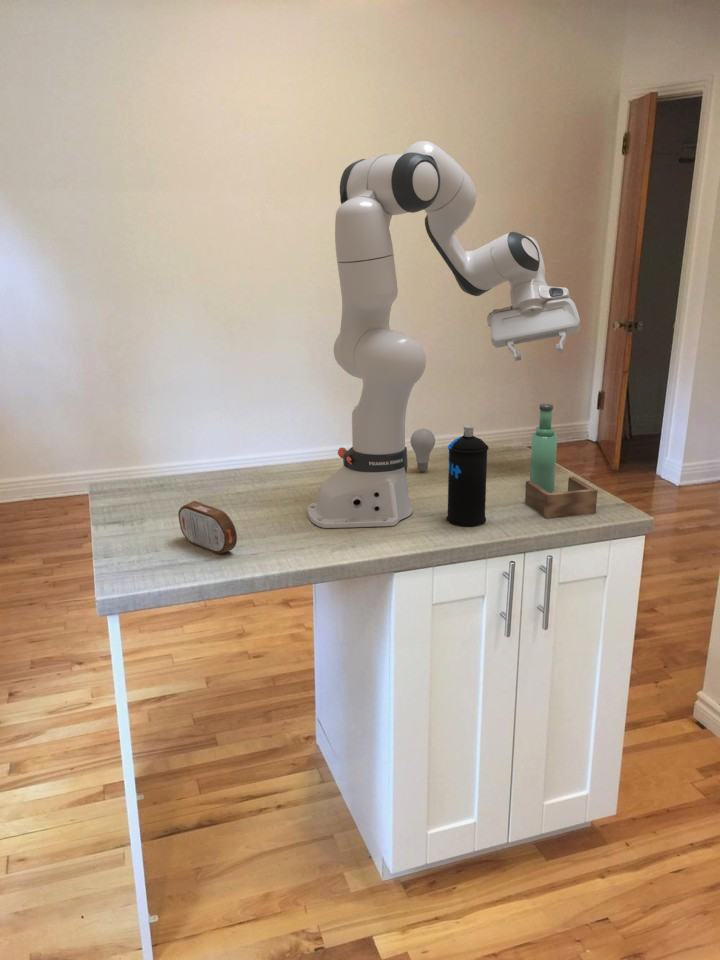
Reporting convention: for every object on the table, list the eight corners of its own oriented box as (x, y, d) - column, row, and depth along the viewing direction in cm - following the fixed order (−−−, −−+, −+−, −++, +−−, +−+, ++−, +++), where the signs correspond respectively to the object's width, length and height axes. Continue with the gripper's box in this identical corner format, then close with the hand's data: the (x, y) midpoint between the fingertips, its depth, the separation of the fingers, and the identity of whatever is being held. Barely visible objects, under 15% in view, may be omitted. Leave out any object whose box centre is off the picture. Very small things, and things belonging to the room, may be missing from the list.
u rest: (546, 518, 164) (547, 495, 162) (524, 502, 173) (526, 481, 172) (595, 512, 166) (597, 490, 165) (572, 497, 176) (573, 476, 174)
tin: (239, 554, 148) (236, 512, 146) (226, 560, 146) (223, 517, 143) (190, 536, 158) (187, 496, 155) (177, 540, 156) (174, 500, 153)
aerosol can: (485, 513, 167) (488, 421, 161) (487, 527, 159) (490, 431, 153) (446, 512, 168) (447, 421, 162) (446, 526, 160) (448, 431, 154)
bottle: (535, 494, 179) (540, 408, 173) (525, 486, 184) (529, 403, 178) (558, 491, 180) (563, 406, 174) (547, 484, 185) (552, 401, 179)
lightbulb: (422, 466, 201) (423, 424, 197) (439, 471, 196) (440, 429, 193) (405, 471, 197) (405, 428, 194) (422, 476, 192) (422, 433, 189)
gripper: (484, 304, 183) (491, 357, 178) (574, 286, 178) (584, 340, 173) (487, 318, 189) (494, 369, 184) (575, 300, 184) (584, 353, 179)
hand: (538, 355), depth 179 cm, fingers open, 8 cm apart
